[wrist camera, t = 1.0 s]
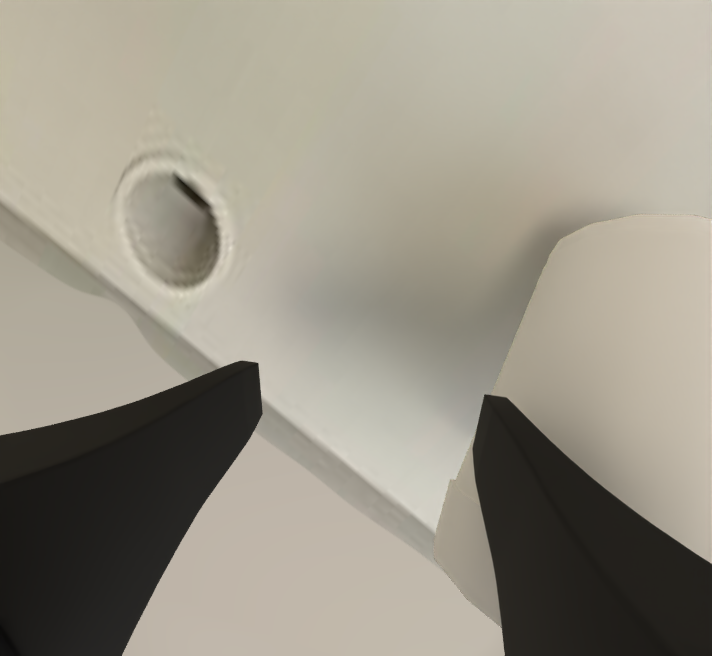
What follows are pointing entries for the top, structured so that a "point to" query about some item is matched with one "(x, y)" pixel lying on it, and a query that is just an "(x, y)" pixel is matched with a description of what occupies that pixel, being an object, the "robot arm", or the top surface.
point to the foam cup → (610, 384)
